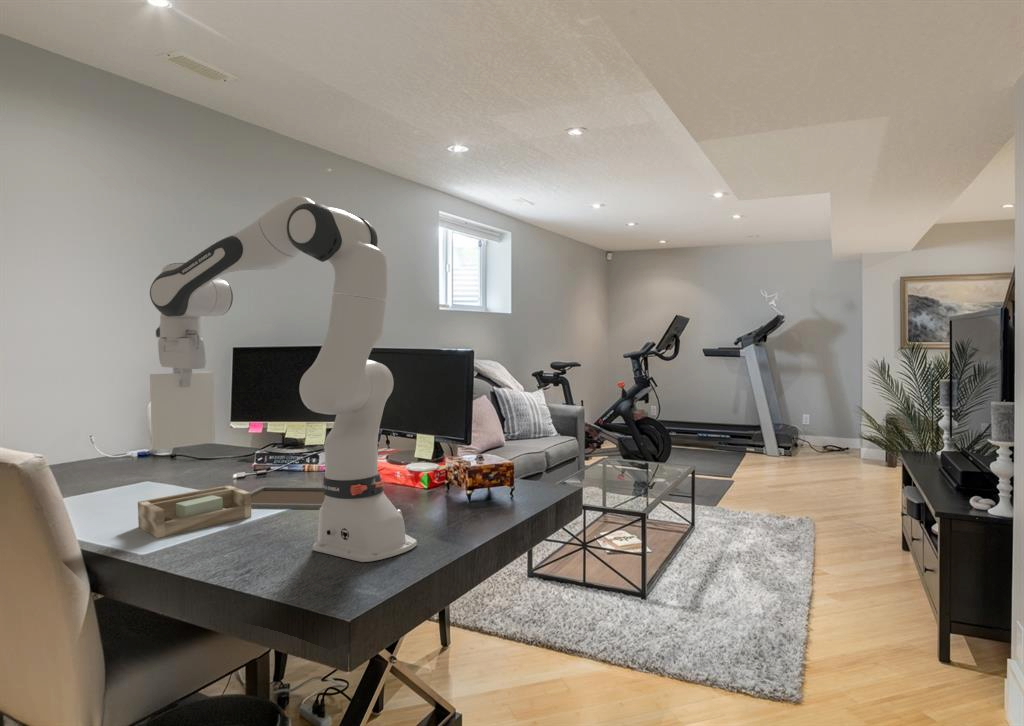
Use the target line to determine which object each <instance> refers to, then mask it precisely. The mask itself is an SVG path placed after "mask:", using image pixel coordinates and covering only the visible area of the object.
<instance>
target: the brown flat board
mask: <svg viewBox="0 0 1024 726" xmlns="http://www.w3.org/2000/svg"><path fill="white" fill-rule="evenodd" d="M249 492H250V493H251V509H292V510H293V509H295V510H297V509H300V510H301V509H302V510H307V509H309V510H312V509H313V510H320V507H321V506H322V504H323V502H324V499H325V494H324V493H323V486H270V485H269V486H266V485H265V486H263V485H262V486H259V487H258V488H255V489H254V490H251V491H249Z"/></svg>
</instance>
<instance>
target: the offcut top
mask: <svg viewBox="0 0 1024 726" xmlns="http://www.w3.org/2000/svg"><path fill="white" fill-rule="evenodd" d="M218 510H223V498H222V497H218V496H214V495H211V496H207V497H202V498H198V499H193V500H189V501H184V502H180V503H176V516H178V517H181V518H185V517H189V516H194V515H199V514H204V513H208V512H213V511H218Z"/></svg>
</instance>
